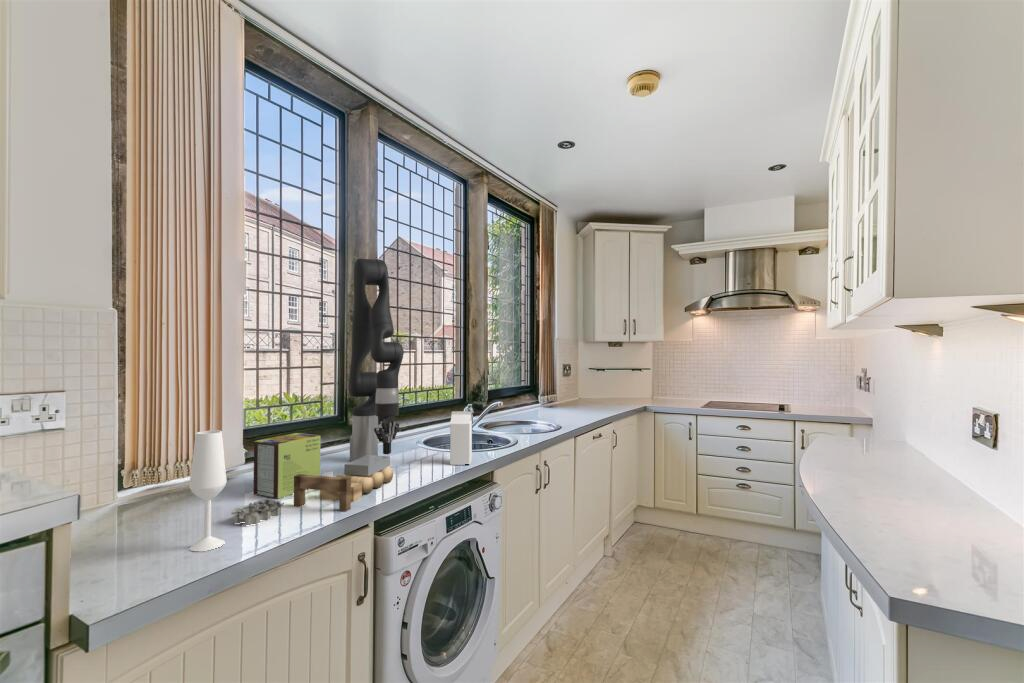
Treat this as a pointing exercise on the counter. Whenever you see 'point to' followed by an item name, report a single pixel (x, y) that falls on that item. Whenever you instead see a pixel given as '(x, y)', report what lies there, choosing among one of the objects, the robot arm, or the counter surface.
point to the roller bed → (371, 479)
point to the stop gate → (323, 488)
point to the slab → (367, 465)
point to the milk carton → (460, 438)
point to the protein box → (284, 462)
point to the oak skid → (334, 495)
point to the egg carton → (257, 511)
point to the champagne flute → (208, 480)
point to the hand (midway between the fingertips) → (387, 453)
